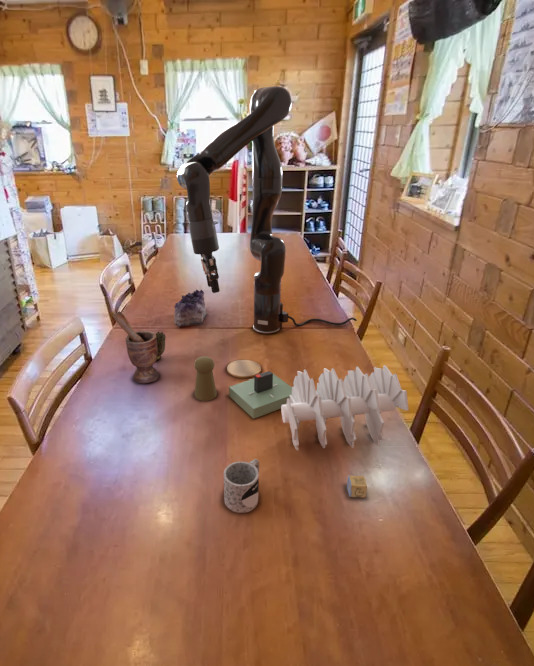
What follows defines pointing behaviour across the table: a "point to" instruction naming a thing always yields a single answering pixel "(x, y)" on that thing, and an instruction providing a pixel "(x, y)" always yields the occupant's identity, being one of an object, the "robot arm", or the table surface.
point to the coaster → (243, 368)
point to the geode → (190, 309)
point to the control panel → (260, 397)
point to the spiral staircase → (344, 401)
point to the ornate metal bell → (160, 344)
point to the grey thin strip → (241, 486)
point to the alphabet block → (356, 486)
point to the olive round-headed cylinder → (205, 379)
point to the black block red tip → (263, 381)
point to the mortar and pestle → (140, 350)
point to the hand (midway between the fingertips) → (213, 289)
